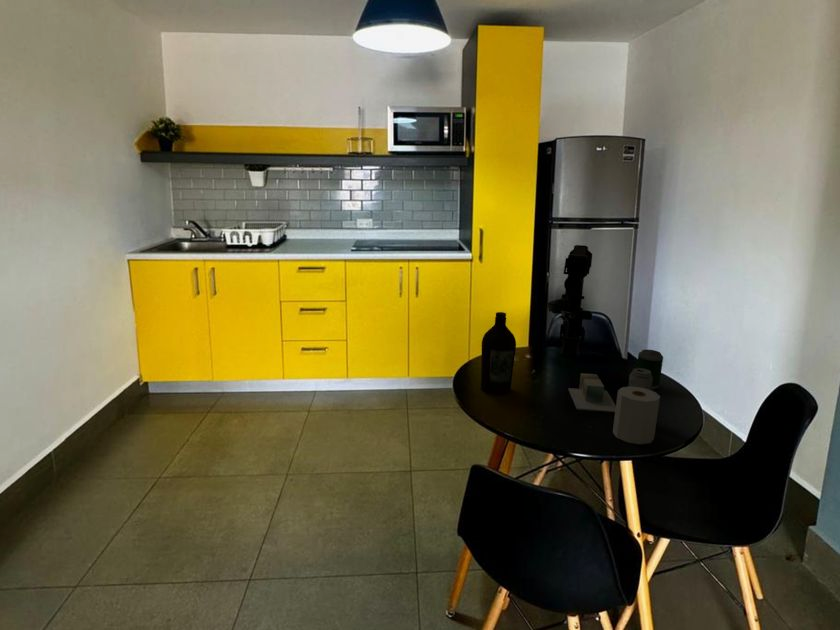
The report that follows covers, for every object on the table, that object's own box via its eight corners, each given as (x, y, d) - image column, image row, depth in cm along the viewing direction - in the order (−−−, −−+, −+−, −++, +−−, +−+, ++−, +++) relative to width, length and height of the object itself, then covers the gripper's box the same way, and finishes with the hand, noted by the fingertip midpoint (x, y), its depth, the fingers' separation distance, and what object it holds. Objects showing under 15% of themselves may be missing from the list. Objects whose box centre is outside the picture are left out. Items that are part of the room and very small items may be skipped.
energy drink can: (641, 427, 158) (649, 376, 154) (620, 420, 162) (627, 370, 158) (649, 420, 162) (656, 371, 159) (628, 414, 166) (635, 365, 162)
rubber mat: (568, 389, 184) (568, 388, 184) (606, 391, 183) (606, 390, 183) (576, 409, 168) (577, 408, 168) (618, 412, 167) (618, 411, 167)
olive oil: (475, 383, 186) (480, 308, 180) (507, 383, 187) (512, 309, 181) (483, 396, 176) (488, 317, 169) (516, 395, 177) (523, 317, 171)
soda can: (662, 391, 185) (667, 356, 182) (638, 390, 185) (643, 355, 182) (653, 383, 192) (658, 349, 189) (631, 382, 192) (635, 348, 189)
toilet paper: (605, 428, 157) (610, 387, 154) (639, 426, 159) (644, 385, 156) (626, 446, 147) (632, 402, 144) (661, 443, 149) (668, 399, 146)
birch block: (580, 373, 183) (587, 385, 172) (596, 374, 183) (604, 386, 172) (579, 387, 184) (585, 401, 174) (595, 388, 184) (602, 402, 173)
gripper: (540, 288, 203) (536, 332, 205) (563, 292, 185) (558, 340, 186) (569, 290, 205) (565, 333, 207) (595, 294, 187) (590, 342, 189)
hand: (568, 337), depth 197 cm, fingers closed
